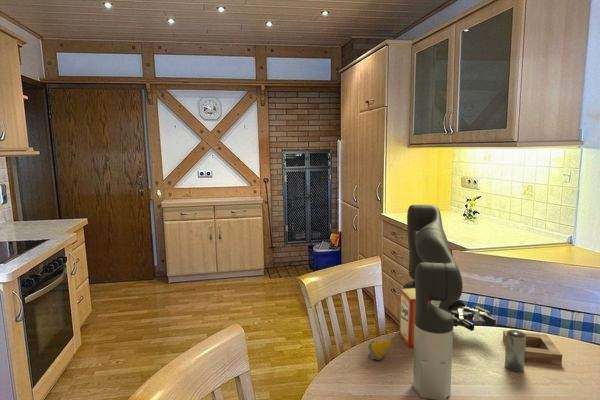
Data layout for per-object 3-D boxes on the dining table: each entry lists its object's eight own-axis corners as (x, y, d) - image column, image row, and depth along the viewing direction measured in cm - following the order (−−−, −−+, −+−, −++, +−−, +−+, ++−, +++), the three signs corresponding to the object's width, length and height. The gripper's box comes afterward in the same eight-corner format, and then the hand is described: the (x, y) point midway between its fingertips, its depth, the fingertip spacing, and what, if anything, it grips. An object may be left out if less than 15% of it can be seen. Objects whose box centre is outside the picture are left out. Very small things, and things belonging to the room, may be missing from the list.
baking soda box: (399, 333, 131) (400, 287, 129) (418, 332, 131) (419, 286, 129) (409, 347, 121) (410, 298, 119) (429, 346, 122) (431, 297, 120)
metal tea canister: (526, 373, 107) (528, 338, 105) (506, 371, 108) (509, 336, 107) (521, 364, 111) (523, 330, 110) (502, 362, 112) (504, 328, 111)
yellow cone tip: (374, 351, 120) (397, 336, 115) (375, 367, 115) (400, 352, 111) (361, 343, 118) (384, 328, 114) (362, 359, 114) (386, 343, 109)
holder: (561, 365, 111) (562, 355, 110) (512, 359, 114) (513, 349, 113) (546, 344, 123) (547, 335, 122) (502, 339, 126) (503, 330, 125)
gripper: (430, 298, 131) (466, 317, 116) (463, 292, 136) (502, 310, 121) (429, 319, 132) (465, 341, 117) (462, 312, 137) (501, 332, 122)
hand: (484, 325), depth 119 cm, fingers open, 8 cm apart
